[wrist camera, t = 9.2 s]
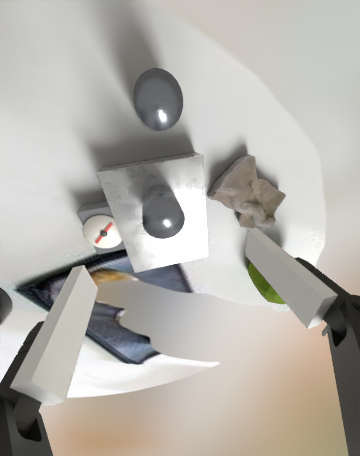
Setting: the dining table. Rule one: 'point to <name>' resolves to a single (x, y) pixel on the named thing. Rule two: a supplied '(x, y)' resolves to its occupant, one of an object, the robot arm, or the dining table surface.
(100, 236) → the scale
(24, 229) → the dining table surface
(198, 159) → the platform
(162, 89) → the cylinder
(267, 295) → the apple
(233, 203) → the stone
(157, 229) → the cylinder
